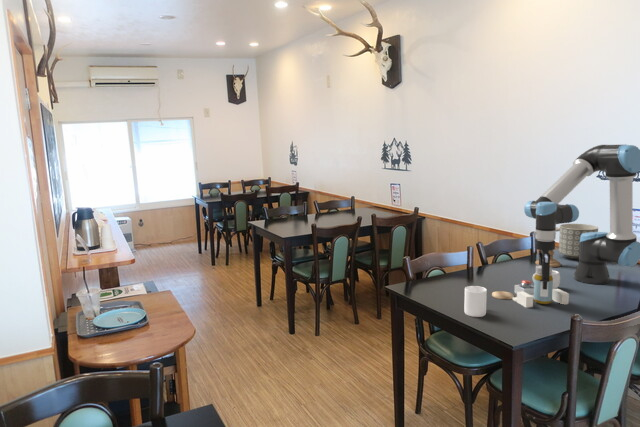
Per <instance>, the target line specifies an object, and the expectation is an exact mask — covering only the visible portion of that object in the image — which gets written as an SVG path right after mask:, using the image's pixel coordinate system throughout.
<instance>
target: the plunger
mask: <svg viewBox="0 0 640 427" xmlns="http://www.w3.org/2000/svg"><path fill="white" fill-rule="evenodd" d="M520 285H521V287H522V288H524V289H528V288H531V285H532V281H531V280H528V279H521V284H520Z"/></svg>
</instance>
